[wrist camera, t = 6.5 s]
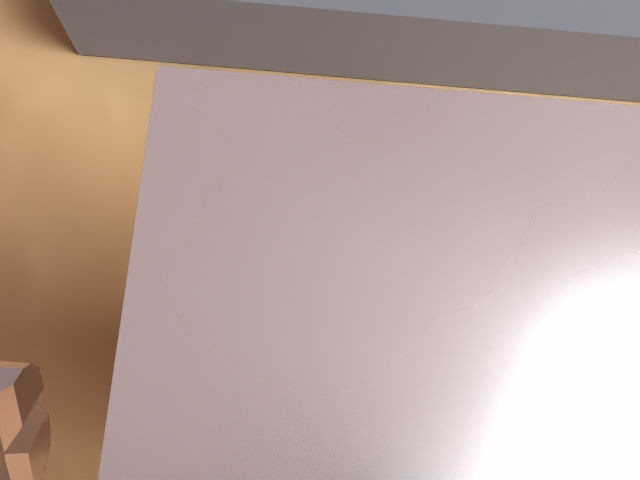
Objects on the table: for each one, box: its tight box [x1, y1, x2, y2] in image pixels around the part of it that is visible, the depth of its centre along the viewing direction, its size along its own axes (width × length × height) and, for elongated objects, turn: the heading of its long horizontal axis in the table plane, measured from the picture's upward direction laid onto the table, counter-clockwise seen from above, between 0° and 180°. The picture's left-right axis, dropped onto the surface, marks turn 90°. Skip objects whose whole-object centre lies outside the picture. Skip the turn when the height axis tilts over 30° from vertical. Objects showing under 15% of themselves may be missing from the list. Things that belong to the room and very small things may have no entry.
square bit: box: [98, 65, 640, 480], centre depth 10 cm, size 3×3×12 cm
